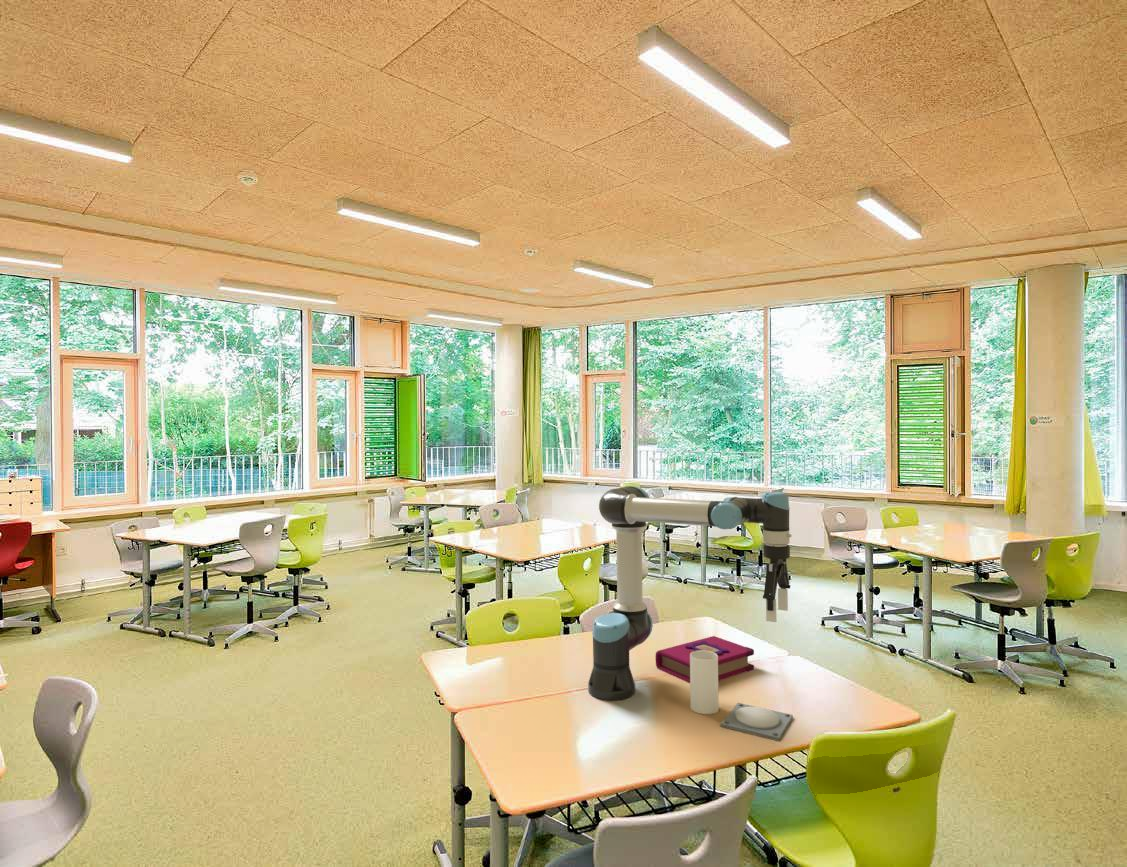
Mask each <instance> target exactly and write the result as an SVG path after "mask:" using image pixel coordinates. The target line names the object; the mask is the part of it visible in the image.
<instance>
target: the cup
mask: <svg viewBox="0 0 1127 867" xmlns="http://www.w3.org/2000/svg"><path fill="white" fill-rule="evenodd" d="M689 684H690V685H689V688H690V690H689V691H690V699H689V700H690V709H691V710H692V711H693V712H694V713H697V714H702V715H712V714H716V713H718V712H719V706H720V704H719V701H720V700H719V681H718V655H717V654H716V653H714V652H711V651H704V650H698V651H693V652H691V653H690V683H689Z"/></svg>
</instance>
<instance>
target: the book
mask: <svg viewBox="0 0 1127 867" xmlns="http://www.w3.org/2000/svg"><path fill="white" fill-rule="evenodd" d="M698 650H704V651H711V652H714V653H716V654H717V655H718V682H719V681H721V680H724V679H728V678H731V677H734V676H736V675H737V676H738V675H740V674H743V673H746V672H751V671H753V670H755V665H754V664H752V663H749V660H748V659H749V658H748V657H751V656H754V655H755V650H754V649H753V648H750V647H748V646H743V645H741V644H738V643H737V642H736V643H735V642H732V641H730V640H727V639H723V638H721V637H718V636H716V635H712V636H707V637H705V638H702V639H698V640H693V641H690V642H686V643H681V644H679V645H676V646H675V645H674V646H671V647H667V648H663V649H659V650H657V651H655V666H656V668H657V669H658V670H660V671H661V672H664V673H667V674H668V675H671V676H673V677H675V678H677V679H679V680H682V681H684V682H686V683H689V684H690V653H691V652H693V651H698Z"/></svg>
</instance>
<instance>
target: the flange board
mask: <svg viewBox="0 0 1127 867" xmlns="http://www.w3.org/2000/svg"><path fill="white" fill-rule="evenodd" d="M793 718H794V715H793V714H790V713H786V712H781V711H776V710H772V709H767V708H765V707H760V706H755V705H749V704H745V703H742V702H741V703H740V702H737V703H736V705H735V706H734V707H733V708H732V709H731V711H730V712H729V713H728V714H727V715H726V717H725V718H724V719H723V720H722V721H721V722H720V727H722V728H725V729H730V730H734V731H738V732H741V733H745V734H750V735H754V736H758V737H762V738H767V739H770V740H775V741H780V740H781V738H782V737H783V735H784V733H785V732H786V730H787V728H788V727H789V725H790V723H791V721H792V720H793Z"/></svg>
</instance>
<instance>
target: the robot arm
mask: <svg viewBox="0 0 1127 867" xmlns="http://www.w3.org/2000/svg"><path fill="white" fill-rule="evenodd" d="M789 499H790V498H789V495H788V494H787V493H786V492H782V491H767V492H763V493H762V496H761V497H760V498H754V497H753V498H752V497H738V496H734V497H731V496H729V497H728V496H727V497H724V499H723V501H722V500H702V499H701V500H699V499H698V500H697V499H684V498H683V499H679V498H678V499H677V498H662V497H661V498H657V497H650V496H649V494H648V493H647V491H646V490H644V489H643V488H642V487H639V486H635V485H633V486H632V485H629V486H628V485H626V486H623V487H617V488H612V489H611V488H610V489H609V490H607V491H606V492H605V493H603V494H602V496H601V498H600V499H599V503H598V510H599V513H600V516H601V517H602V518H603V519H604V520H605V521H606V522H608V523H610V524H611V527H612V528H613V529H614V530H615V531H616V533H615V534H616V538H615V539H616V586H617V587H616V591H617V592H616V593H617V594H616V597H617V599H616V600H617V601H616V602H615V603H614V604H613V605H612V612H609V613H607V614H606V613H604V614H601V615H599V616H597V617H596V618H595V619H594V620H593V624H592V653H593V654H592V658H593V662H592V663H593V664H592V669H591V674H590V675H589V680H588V684H587V689H588V690H587V692H588V693H589V694H590V695H591V696H592V695H593V696H592V697H594V696H595V698H597V699H600V698H601V700H605V699H606V700H607V701H608V700H609V701H618V700H619V701H620V700H624V699H628V698H630V697H632V696H633V695H634V694H635V693H636V682H635V680H634V679H635V678H634V677H633V673H632V670H631V667H630V651H631V650H633V649H634V648H636V647H637V646H640V645H641V644H643V643H644V642H645V641H646V640H647V639H648V638H649V637H650V636H651V634H652V631H653V626H654V625H653V624H654V623H653V619H652V617H651V615H650V614H649V611H648V606H647V605H648V604H646V602H644V601H643V597H644V596H643V550H642V549H643V547H642V545H643V542H642V540H643V539H642V538H643V535H642V532H643V530H644V529H646V527H647V523H654V524H655V523H657V524H674V525H690V526H703V527H704V526H705V527H714V528H718V529H721V530H732V529H734V528H736V527H738V526H740V525H743V524H745V523H746V524H762V542H763V546H762V552H763V557H764V558H766V559H769V563H766V570H765V579H764V581H765V582H764V588H763V589H764V590H763V595H762V599H764V600H765V621H766V622H771V623H777V610H779V611H785V612H787V611H789V603H788V600H789V599H788V597H789V595H788V590H789V589H791V585H790V580H789V579H790V578H789V573H788V572H789V571H788V565H787V559H789V558H790V557H791V551H790V550H791V547H790V546H791V545H789V544H790V538H792V534H791V533H790V508H791V507H790V501H789ZM776 593H777V594H776ZM776 595H777V599H776Z"/></svg>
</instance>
